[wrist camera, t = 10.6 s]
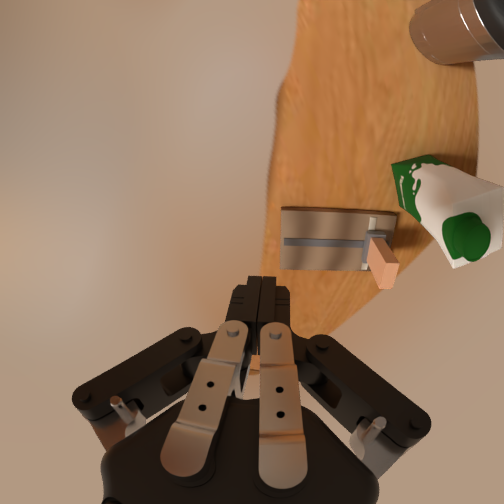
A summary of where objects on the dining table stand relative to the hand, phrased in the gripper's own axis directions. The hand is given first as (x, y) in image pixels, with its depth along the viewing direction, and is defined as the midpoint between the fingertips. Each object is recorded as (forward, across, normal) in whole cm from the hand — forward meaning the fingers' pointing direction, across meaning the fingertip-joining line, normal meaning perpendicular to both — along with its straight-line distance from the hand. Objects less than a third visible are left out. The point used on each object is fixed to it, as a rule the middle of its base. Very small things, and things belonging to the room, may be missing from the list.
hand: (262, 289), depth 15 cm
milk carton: (+27, -22, -1) cm, 35 cm away
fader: (+25, -16, +10) cm, 31 cm away
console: (+27, -10, +10) cm, 30 cm away
